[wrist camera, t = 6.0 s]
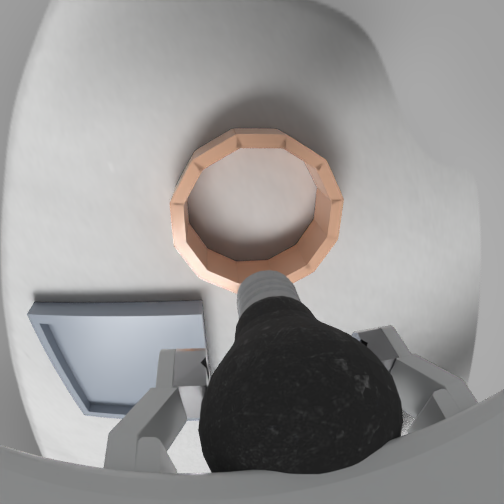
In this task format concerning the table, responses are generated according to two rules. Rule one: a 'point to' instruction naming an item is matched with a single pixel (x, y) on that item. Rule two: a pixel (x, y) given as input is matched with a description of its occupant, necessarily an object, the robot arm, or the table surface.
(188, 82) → the table surface
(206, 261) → the ring
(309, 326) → the light bulb
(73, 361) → the tray
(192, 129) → the table surface
